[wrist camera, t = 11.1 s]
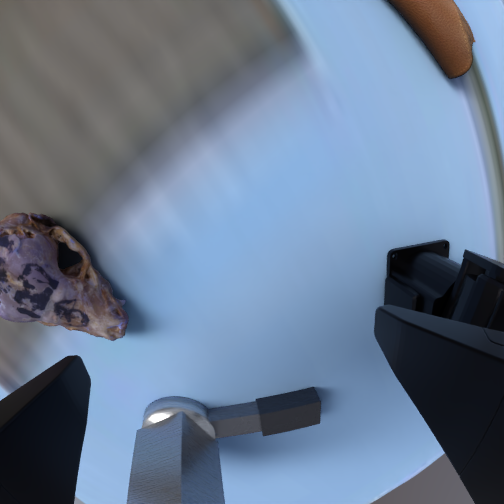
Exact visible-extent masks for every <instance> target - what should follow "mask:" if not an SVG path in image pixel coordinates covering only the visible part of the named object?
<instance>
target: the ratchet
mask: <svg viewBox="0 0 504 504" xmlns="http://www.w3.org/2000/svg"><path fill="white" fill-rule="evenodd" d="M181 411H183V412H184V413H185V414H186V415H187V416H189V417H190V418H191V419H192V420H193V421H194V422H195V423H196V424H198V425H199V426H200V427H201V428H202V429H203V430H205V431H206V432H207V433H208V434H209V435H210V436H212V437H213V438H214V439H215V438H222V437H229V436H236V435H242V434H248V433H254V432H260V431H262V434H263V436H267V435H272V434H277V433H282V432H286V431H291V430H295V429H300V428H304V427H308V426H312V425H316V424H320V413H321V401H320V399H319V397H318V394H317V392H316V390H315V388H314V387H311V388H307V389H303V390H298V391H294V392H289V393H285V394H280V395H275V396H270V397H265V398H260V399H256V402H251V403H245V404H239V405H232V406H226V407H219V408H212V409H208V408H207V407H206V406H204V405H203V404H201V403H199V402H197V401H195V400H192V399H189V398H185V397H165V398H161V399H158V400H156V401H154V402H152V403H151V404H149V405H148V407H147V408H146V410H145V412H144V417H143V423H142V428H144V427H146V426H149V425H151V424H153V423H156V422H158V421H160V420H163V419H165V418H167V417H170V416H172V415H174V414H176V413H178V412H181Z"/></svg>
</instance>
